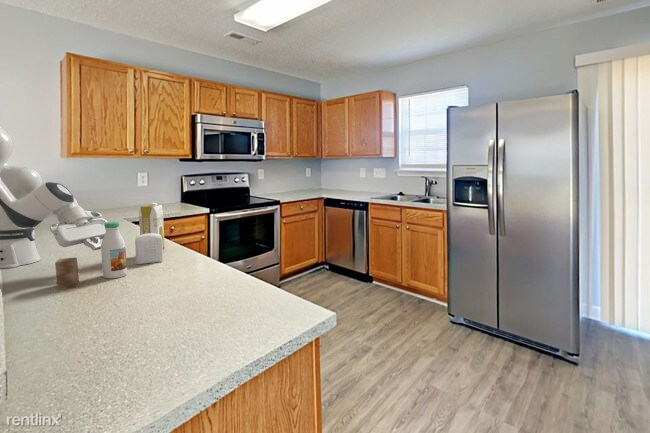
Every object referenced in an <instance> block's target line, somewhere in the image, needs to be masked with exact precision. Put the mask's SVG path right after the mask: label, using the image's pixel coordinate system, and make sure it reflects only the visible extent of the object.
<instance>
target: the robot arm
mask: <svg viewBox="0 0 650 433" xmlns="http://www.w3.org/2000/svg"><path fill="white" fill-rule="evenodd" d="M13 149H14V141H13V139H12V138H11V136H10V134H8V133H7V132H6V130H5V129H4V128H3V127H2V126H0V267H1V268H0V269H11V268H15V267H19V266H24V265H28V264H32V263H36V262H38V261H40V260H41V259H42V258H41V256H40V255H39V251H38V250H37V246H36V245H37V244H36V242H35V239H36V231H35V227H38V225H40V224H41V223H42V222H43V221H44V220H45V219H47V218H49V217H51V215H54V216H56V218H57V221H58V222H59V223H53V224H52V225H50V227H49V231H50V232H51V233H52V234H53V236H54V239H55V240H56V242H57V243H58V245H59V246H61V247H62V248H67V247H71V246H76V245H81V244H83V245H84V246H86V247H88V248H90V249H91V250H92V251H93V252H95V251H98V250H101V244H102V243H101V240H103V238H104V236H105V232H106V229H105V226H104V224H105V223H107V222H108V220H107V219H105V218H104V217H103V214H102V213H101V212H97V211H91V210H90V211H89V210H86V209H84V208H83V207H82V206H80V205H79V203H78V201H77V199H76V198H75V197H74V195H73V194H72V193H71V192H70V190H69V189H68V188H67V186H64V185H63V184H62V183H58V182H52V181H47V182H45V183H43V179H42V176H41V175H40V173H39V172H37V171H36V170H34V169H31V168H28V167H24V166H17V165H16V166H14V165H13V166H12V165H9V164H8V163H7V162H8V160H9V158H10V157H11V155H12V153H13Z"/></svg>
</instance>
